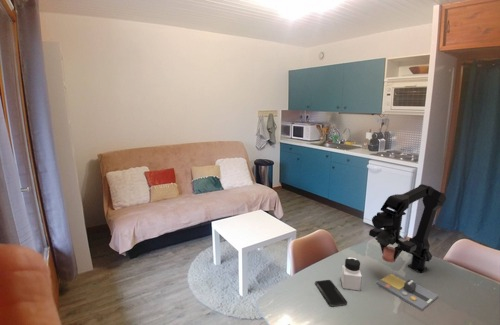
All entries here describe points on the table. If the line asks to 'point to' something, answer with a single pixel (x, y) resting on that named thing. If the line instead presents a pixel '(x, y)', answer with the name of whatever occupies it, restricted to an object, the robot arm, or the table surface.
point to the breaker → (410, 286)
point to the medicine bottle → (351, 274)
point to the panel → (416, 298)
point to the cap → (388, 254)
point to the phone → (330, 293)
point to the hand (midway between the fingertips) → (389, 256)
